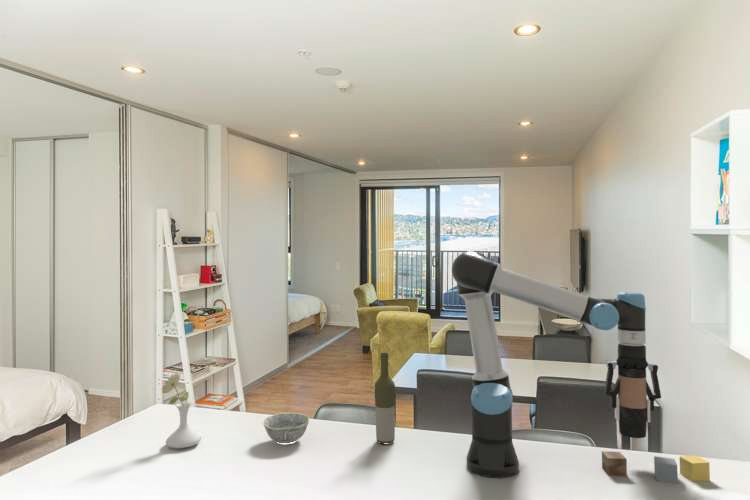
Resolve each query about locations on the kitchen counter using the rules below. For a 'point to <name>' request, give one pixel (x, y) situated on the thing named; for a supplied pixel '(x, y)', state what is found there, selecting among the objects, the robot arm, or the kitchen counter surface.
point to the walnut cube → (614, 463)
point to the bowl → (286, 426)
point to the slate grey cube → (665, 469)
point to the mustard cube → (694, 468)
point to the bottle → (385, 404)
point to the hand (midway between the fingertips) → (632, 419)
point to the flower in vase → (184, 433)
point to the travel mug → (632, 402)
